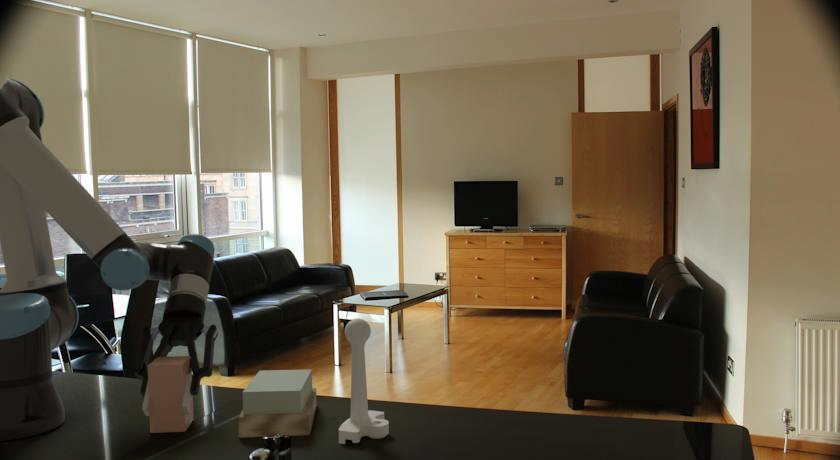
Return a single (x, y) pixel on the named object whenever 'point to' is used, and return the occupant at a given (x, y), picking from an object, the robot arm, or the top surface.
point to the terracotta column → (168, 394)
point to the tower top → (277, 392)
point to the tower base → (279, 422)
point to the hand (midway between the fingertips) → (166, 411)
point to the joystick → (360, 391)
